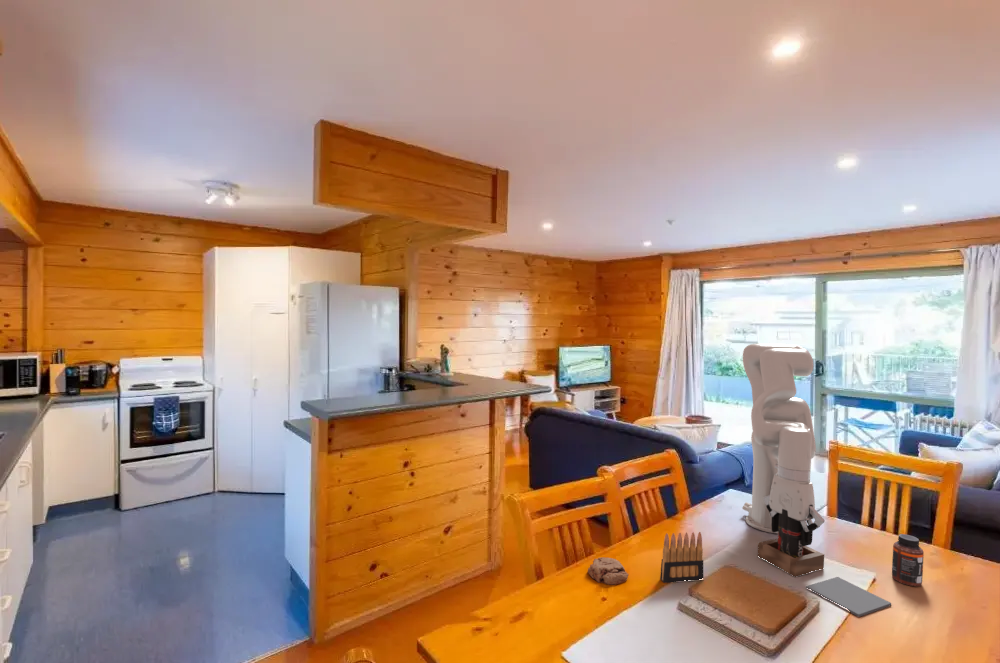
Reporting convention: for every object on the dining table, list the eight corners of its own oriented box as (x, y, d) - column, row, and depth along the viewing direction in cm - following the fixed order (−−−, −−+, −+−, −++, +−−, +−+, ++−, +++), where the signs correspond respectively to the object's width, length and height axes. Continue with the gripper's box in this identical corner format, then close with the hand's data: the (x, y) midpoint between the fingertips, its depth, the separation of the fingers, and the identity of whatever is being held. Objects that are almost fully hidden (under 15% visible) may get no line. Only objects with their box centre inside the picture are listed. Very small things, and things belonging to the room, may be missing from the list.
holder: (757, 556, 133) (757, 542, 133) (784, 550, 138) (785, 536, 137) (795, 577, 123) (796, 561, 123) (823, 569, 127) (824, 554, 127)
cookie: (622, 564, 128) (622, 553, 128) (632, 587, 117) (632, 575, 117) (584, 563, 128) (584, 552, 128) (591, 585, 118) (591, 573, 117)
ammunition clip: (663, 583, 119) (665, 535, 119) (660, 579, 121) (661, 531, 120) (703, 580, 121) (705, 533, 120) (699, 576, 122) (701, 530, 122)
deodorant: (798, 571, 126) (800, 514, 126) (773, 562, 131) (776, 507, 130) (805, 563, 130) (808, 509, 130) (781, 555, 135) (784, 502, 134)
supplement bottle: (928, 589, 119) (930, 544, 119) (900, 586, 120) (902, 541, 120) (912, 576, 125) (914, 533, 125) (886, 573, 126) (888, 530, 126)
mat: (805, 588, 118) (806, 586, 118) (837, 579, 123) (837, 576, 123) (858, 617, 107) (858, 614, 107) (891, 605, 112) (891, 603, 112)
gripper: (755, 465, 136) (752, 526, 137) (816, 485, 120) (813, 555, 121) (773, 462, 139) (771, 522, 140) (836, 482, 123) (833, 550, 124)
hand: (790, 537), depth 130 cm, fingers open, 7 cm apart
